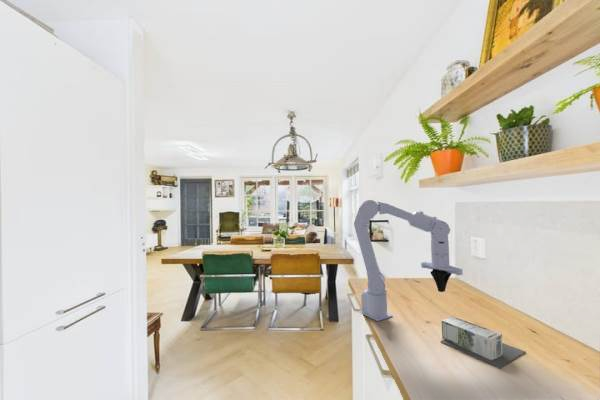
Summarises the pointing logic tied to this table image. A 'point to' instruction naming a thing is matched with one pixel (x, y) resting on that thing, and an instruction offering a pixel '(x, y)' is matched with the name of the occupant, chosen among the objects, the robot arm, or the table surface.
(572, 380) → the table surface
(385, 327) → the table surface
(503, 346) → the rubber mat
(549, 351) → the table surface
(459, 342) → the syrup box
